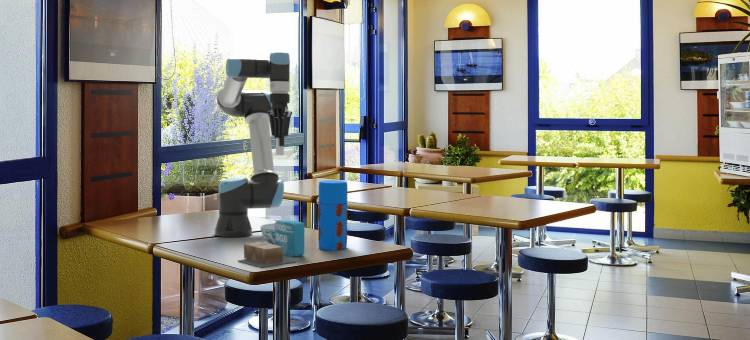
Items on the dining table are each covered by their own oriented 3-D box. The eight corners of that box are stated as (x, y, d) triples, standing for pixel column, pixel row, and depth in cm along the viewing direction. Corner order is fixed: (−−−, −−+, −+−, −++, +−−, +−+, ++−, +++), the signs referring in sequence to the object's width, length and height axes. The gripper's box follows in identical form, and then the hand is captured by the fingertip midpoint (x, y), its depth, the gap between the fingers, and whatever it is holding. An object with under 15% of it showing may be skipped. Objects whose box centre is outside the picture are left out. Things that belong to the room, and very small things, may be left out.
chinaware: (263, 250, 282) (263, 229, 281) (258, 243, 296) (258, 223, 295) (303, 249, 286) (303, 228, 285) (296, 242, 300) (296, 222, 299)
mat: (237, 261, 261) (237, 260, 261) (271, 256, 271) (271, 255, 271) (261, 267, 251) (261, 266, 251) (295, 262, 260) (295, 261, 260)
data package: (274, 252, 278) (274, 220, 277) (284, 251, 281) (284, 218, 280) (294, 257, 269) (294, 223, 268) (304, 256, 272) (304, 222, 271)
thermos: (314, 246, 291) (314, 180, 289) (341, 244, 295) (341, 180, 293) (324, 251, 281) (324, 183, 279) (351, 249, 285) (351, 182, 283)
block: (244, 244, 264) (265, 249, 255) (260, 241, 269) (282, 246, 260) (244, 258, 265) (265, 264, 255) (261, 255, 269) (282, 261, 260)
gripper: (261, 92, 294) (261, 154, 296) (281, 92, 284) (281, 156, 286) (277, 93, 299) (277, 153, 301) (297, 93, 289) (297, 155, 291)
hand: (279, 154), depth 293 cm, fingers closed
